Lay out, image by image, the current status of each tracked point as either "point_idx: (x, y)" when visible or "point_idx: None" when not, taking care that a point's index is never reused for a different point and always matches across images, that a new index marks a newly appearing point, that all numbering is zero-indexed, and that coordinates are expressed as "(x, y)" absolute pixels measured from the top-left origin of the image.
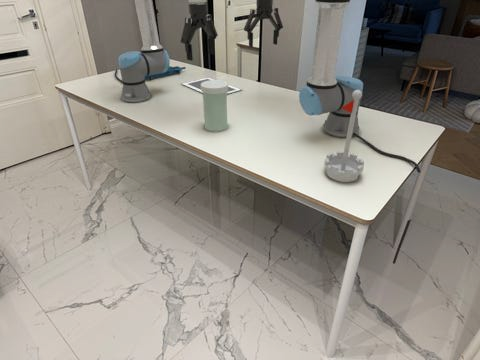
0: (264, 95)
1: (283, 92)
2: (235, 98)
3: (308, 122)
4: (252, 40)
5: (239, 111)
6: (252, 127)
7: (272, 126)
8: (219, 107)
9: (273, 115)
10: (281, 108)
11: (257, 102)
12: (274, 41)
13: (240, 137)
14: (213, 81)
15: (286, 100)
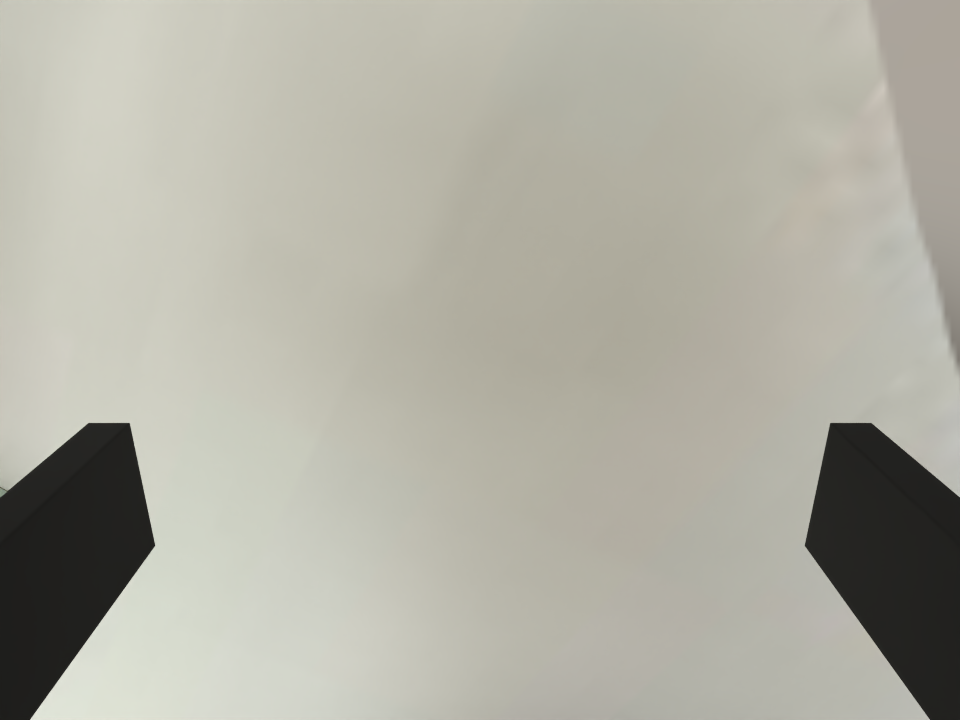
0: (577, 112)
1: (801, 116)
2: (265, 60)
3: (555, 691)
4: (54, 665)
5: (201, 375)
6: (202, 626)
7: (325, 657)
8: None
9: (412, 533)
10: (535, 453)
11: (422, 259)
12: (851, 522)
13: (95, 697)
14: None
15: (679, 324)
